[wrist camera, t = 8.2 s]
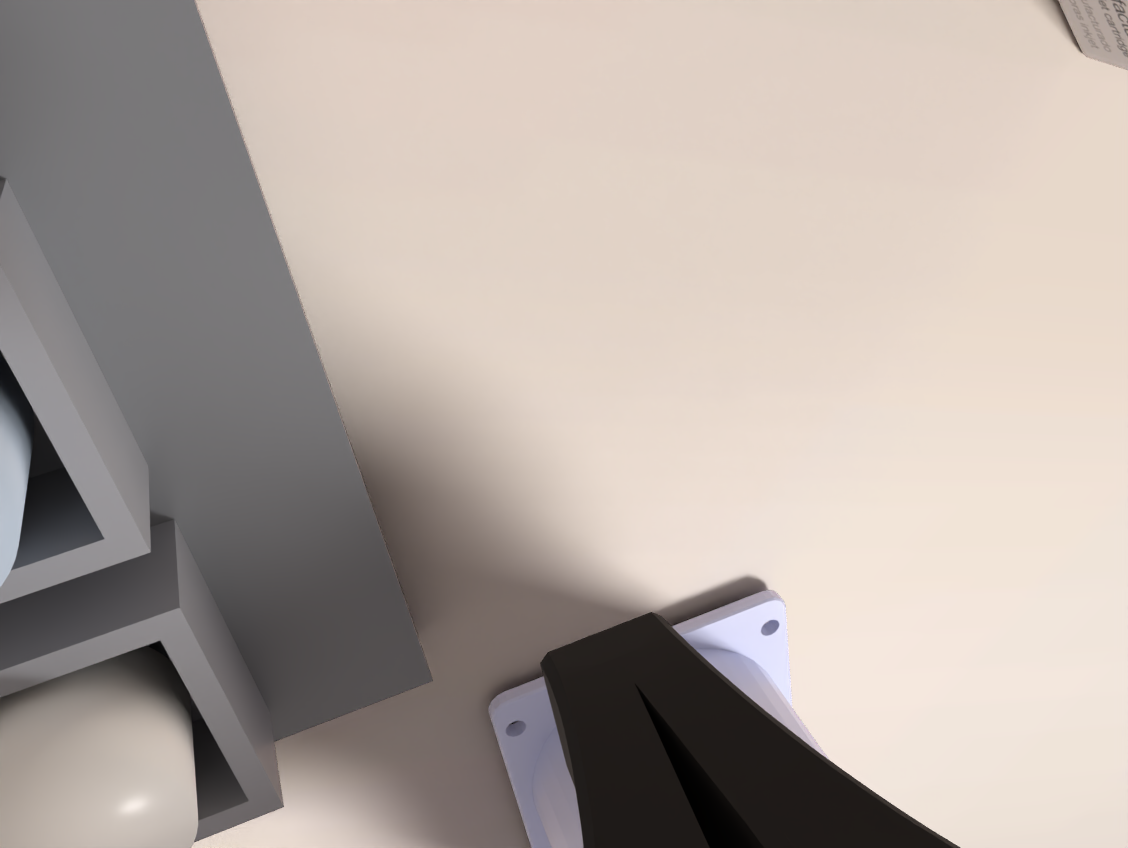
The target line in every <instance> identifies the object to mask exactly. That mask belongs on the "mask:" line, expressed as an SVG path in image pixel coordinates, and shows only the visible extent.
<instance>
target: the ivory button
mask: <svg viewBox="0 0 1128 848" xmlns="http://www.w3.org/2000/svg"><path fill="white" fill-rule="evenodd" d="M197 829H198V808H197V793H196V778H195V763H194V747H193V732H192V717H191V702H190V693H189V691H188V689H187V688H186V686H185V684H184V682H183V680H182V679H181V677H180V675H179V673H178V671H177V670H176V668H175V666H174V664H173V663H172V662H171V661H170V660H169V659H168V658H166V657H165V656H164V655H163V654H161V653H159V652H157V651H156V650H154V649H152V648H150V647H148V646H143V647H140V648H138V649H135V650H132V651H129V652H126V653H124V654H121V655H118V656H115V657H112V658H110V659H107V660H104V661H101V662H98V663H96V664H93V665H90V666H87V667H84V668H82V669H79V670H76V671H73V672H70V673H68V674H65V675H62V676H59V677H56V678H54V679H51V680H48V681H45V682H42V683H40V684H37V685H34V686H31V687H28V688H26V689H23V690H20V691H17V692H14V693H12V694H9V695H6V696H3V697H0V848H191V847H192V845H193V843H194V840H195V837H196V835H197Z"/></svg>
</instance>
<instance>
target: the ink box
mask: <svg viewBox="0 0 1128 848" xmlns="http://www.w3.org/2000/svg"><path fill="white" fill-rule="evenodd" d="M1058 1H1059V3H1060V5H1061V8H1062V10H1063V12H1064V14H1065V16H1066V18H1067V21H1068V23H1069V25H1070V27H1071V29H1072V31H1073V34H1074V36H1075V38H1076V40H1077V42H1078V44H1079V46H1080V48H1081V50H1082V52H1083V54H1084V55H1085V56H1086V57H1088V58H1090V59H1094V60H1097V61H1100V62H1103V63H1107V64H1110V65H1113V66H1116V67H1119V68H1122V69H1126V70H1128V0H1058Z"/></svg>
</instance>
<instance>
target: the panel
mask: <svg viewBox="0 0 1128 848" xmlns="http://www.w3.org/2000/svg"><path fill="white" fill-rule="evenodd" d="M0 355H1V356H2V357H3V358H4V359H5V360H6V361H7V363H8V364H9V366H10V368H11V370H12V372H13V373H14V375H15V377H16V379H17V381H18V383H19V384H20V386H21V388H22V390H23V392H24V393H25V395H26V397H27V399H28V401H29V403H30V404H31V406H32V408H33V413H34V422H35V429H34V441H33V448H32V455H31V462H30V469H29V477H28V484H27V491H26V498H25V505H24V512H23V519H22V526H21V533H20V540H19V546H18V550H17V555H16V559H15V561H14V564H13V566H12V569H11V571H10V573H9V575H8V576H7V578H6V580H5V581H4V583H3V584H2V586H1V587H0V697H3V696H6V695H9V694H12V693H14V692H17V691H20V690H23V689H26V688H28V687H31V686H34V685H37V684H40V683H42V682H45V681H48V680H51V679H54V678H56V677H59V676H62V675H65V674H68V673H70V672H73V671H76V670H79V669H82V668H84V667H87V666H90V665H93V664H96V663H98V662H101V661H104V660H107V659H110V658H112V657H115V656H118V655H121V654H124V653H126V652H129V651H132V650H135V649H138V648H140V647H143V646H148V647H150V648H152V649H154V650H156V651H157V652H159V653H161V654H163V655H164V656H165V657H166V658H168V659H169V660H170V661H171V662H172V663H173V664H174V666H175V668H176V670H177V671H178V673H179V675H180V677H181V679H182V680H183V682H184V684H185V686H186V688H187V689H188V691H189V693H190V702H191V717H192V732H193V747H194V763H195V778H196V793H197V808H198V829H197V835H196V837H195V840H194V842H196V841H199V840H201V839H204V838H206V837H209V836H211V835H214V834H216V833H219V832H221V831H224V830H227V829H229V828H232V827H234V826H237V825H239V824H242V823H244V822H247V821H249V820H252V819H254V818H257V817H259V816H262V815H265V814H267V813H270V812H272V811H275V810H277V809H280V808H282V807H284V805H283V798H282V791H281V785H280V778H279V771H278V764H277V758H276V751H275V744H274V741H277V740H280V739H282V738H285V737H288V736H290V735H293V734H295V733H298V732H301V731H303V730H306V729H308V728H311V727H314V726H316V725H319V724H322V723H324V722H327V721H329V720H332V719H335V718H337V717H340V716H342V715H345V714H348V713H350V712H353V711H356V710H358V709H361V708H363V707H366V706H369V705H371V704H374V703H376V702H379V701H382V700H384V699H387V698H389V697H392V696H395V695H397V694H400V693H403V692H405V691H408V690H410V689H413V688H416V687H418V686H421V685H423V684H426V683H429V682H431V681H433V679H432V676H431V673H430V670H429V667H428V664H427V661H426V658H425V655H424V652H423V649H422V646H421V643H420V641H419V638H418V635H417V632H416V629H415V626H414V623H413V620H412V617H411V615H410V612H409V609H408V606H407V603H406V600H405V597H404V595H403V592H402V589H401V586H400V583H399V580H398V577H397V575H396V572H395V569H394V566H393V563H392V560H391V558H390V555H389V552H388V549H387V546H386V543H385V540H384V538H383V535H382V532H381V529H380V526H379V523H378V520H377V518H376V515H375V512H374V509H373V506H372V503H371V500H370V498H369V495H368V492H367V489H366V486H365V483H364V480H363V478H362V475H361V472H360V469H359V466H358V463H357V460H356V458H355V455H354V452H353V449H352V446H351V443H350V440H349V438H348V435H347V432H346V429H345V426H344V423H343V421H342V418H341V415H340V412H339V409H338V406H337V403H336V401H335V398H334V395H333V392H332V389H331V386H330V383H329V381H328V378H327V375H326V372H325V369H324V366H323V363H322V361H321V358H320V355H319V352H318V349H317V346H316V343H315V341H314V338H313V335H312V332H311V329H310V326H309V323H308V321H307V318H306V315H305V312H304V309H303V306H302V303H301V301H300V298H299V295H298V292H297V289H296V286H295V284H294V281H293V278H292V275H291V272H290V269H289V266H288V264H287V261H286V258H285V255H284V252H283V249H282V246H281V244H280V241H279V238H278V235H277V232H276V229H275V226H274V224H273V221H272V218H271V215H270V212H269V209H268V206H267V204H266V201H265V198H264V195H263V192H262V189H261V186H260V184H259V181H258V178H257V175H256V172H255V169H254V167H253V164H252V161H251V158H250V155H249V152H248V149H247V147H246V144H245V141H244V138H243V135H242V132H241V129H240V127H239V124H238V121H237V118H236V115H235V112H234V109H233V107H232V104H231V101H230V98H229V95H228V92H227V89H226V87H225V84H224V81H223V78H222V75H221V72H220V69H219V67H218V64H217V61H216V58H215V55H214V52H213V49H212V47H211V44H210V41H209V38H208V35H207V32H206V30H205V27H204V24H203V21H202V18H201V15H200V12H199V10H198V7H197V4H196V1H195V0H0Z"/></svg>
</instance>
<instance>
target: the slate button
mask: <svg viewBox="0 0 1128 848" xmlns="http://www.w3.org/2000/svg"><path fill="white" fill-rule="evenodd" d="M34 429H35V422H34V413H33V408H32V406H31V404H30V403H29V401H28V399H27V397H26V395H25V393H24V392H23V390H22V388H21V386H20V384H19V383H18V381H17V379H16V377H15V375H14V373H13V372H12V370H11V368H10V366H9V364H8V363H7V361H6V360H5V359H4V358H3V357H2V356H1V355H0V587H1V586H2V584H3V583H4V581H5V580H6V578H7V576H8V575H9V573H10V571H11V569H12V566H13V564H14V561H15V559H16V555H17V550H18V546H19V540H20V533H21V526H22V519H23V512H24V505H25V498H26V491H27V484H28V477H29V469H30V462H31V455H32V448H33V441H34Z"/></svg>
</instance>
